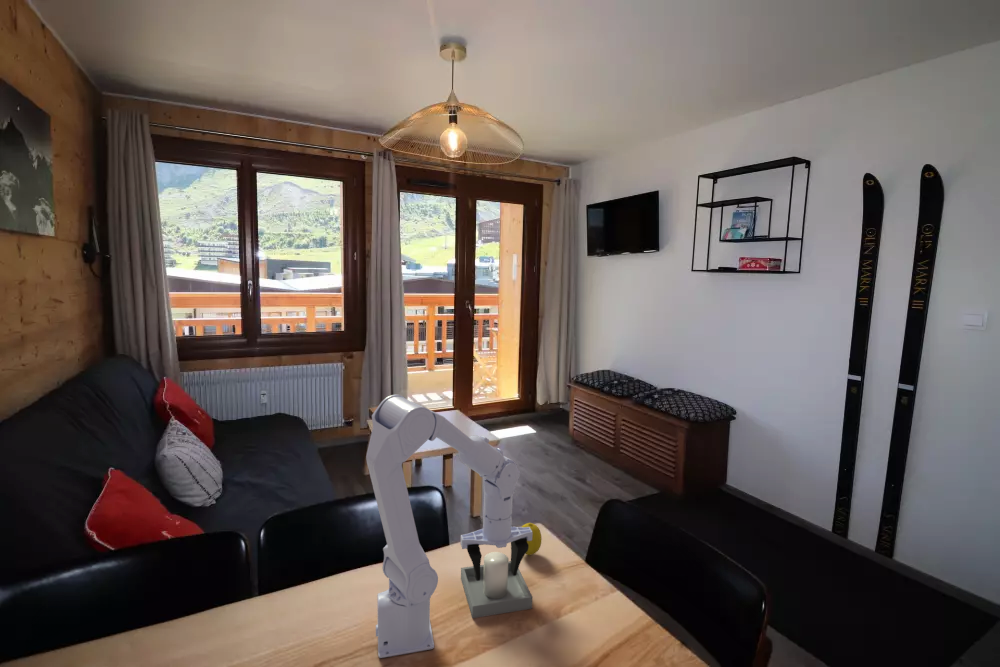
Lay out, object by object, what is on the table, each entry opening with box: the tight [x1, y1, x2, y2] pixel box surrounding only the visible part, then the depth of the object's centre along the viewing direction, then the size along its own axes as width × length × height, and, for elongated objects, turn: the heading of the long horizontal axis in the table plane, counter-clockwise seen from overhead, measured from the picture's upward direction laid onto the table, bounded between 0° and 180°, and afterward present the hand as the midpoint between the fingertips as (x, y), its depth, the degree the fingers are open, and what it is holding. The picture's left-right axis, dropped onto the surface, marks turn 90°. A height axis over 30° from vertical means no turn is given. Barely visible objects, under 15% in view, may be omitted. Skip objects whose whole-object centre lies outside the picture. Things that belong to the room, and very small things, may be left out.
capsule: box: [483, 551, 509, 599], centre depth 100 cm, size 5×5×7 cm
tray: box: [460, 560, 533, 619], centre depth 100 cm, size 12×12×2 cm
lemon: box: [521, 522, 542, 556], centre depth 113 cm, size 6×6×8 cm
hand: (495, 575), depth 100 cm, fingers open, 7 cm apart
